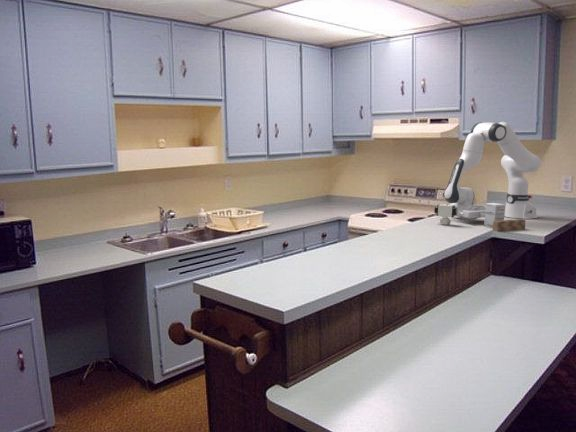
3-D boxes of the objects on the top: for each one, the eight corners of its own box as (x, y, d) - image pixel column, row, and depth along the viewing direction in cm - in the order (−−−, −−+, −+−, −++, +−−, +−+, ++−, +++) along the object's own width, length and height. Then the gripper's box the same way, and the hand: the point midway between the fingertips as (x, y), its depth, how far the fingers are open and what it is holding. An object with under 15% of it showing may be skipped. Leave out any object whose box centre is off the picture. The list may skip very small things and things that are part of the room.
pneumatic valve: (454, 226, 281) (456, 204, 280) (433, 223, 287) (434, 202, 285) (457, 224, 286) (458, 203, 284) (436, 222, 292) (437, 201, 290)
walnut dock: (507, 225, 287) (508, 216, 286) (524, 229, 276) (525, 219, 276) (480, 227, 279) (480, 218, 278) (496, 231, 268) (497, 221, 268)
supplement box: (483, 225, 285) (485, 203, 283) (493, 224, 288) (495, 202, 286) (493, 227, 278) (495, 204, 276) (504, 227, 281) (506, 204, 279)
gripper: (458, 207, 293) (475, 210, 281) (485, 205, 301) (503, 209, 289) (457, 218, 294) (474, 222, 282) (484, 216, 302) (502, 220, 290)
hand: (489, 215), depth 285 cm, fingers closed, pressing on supplement box
